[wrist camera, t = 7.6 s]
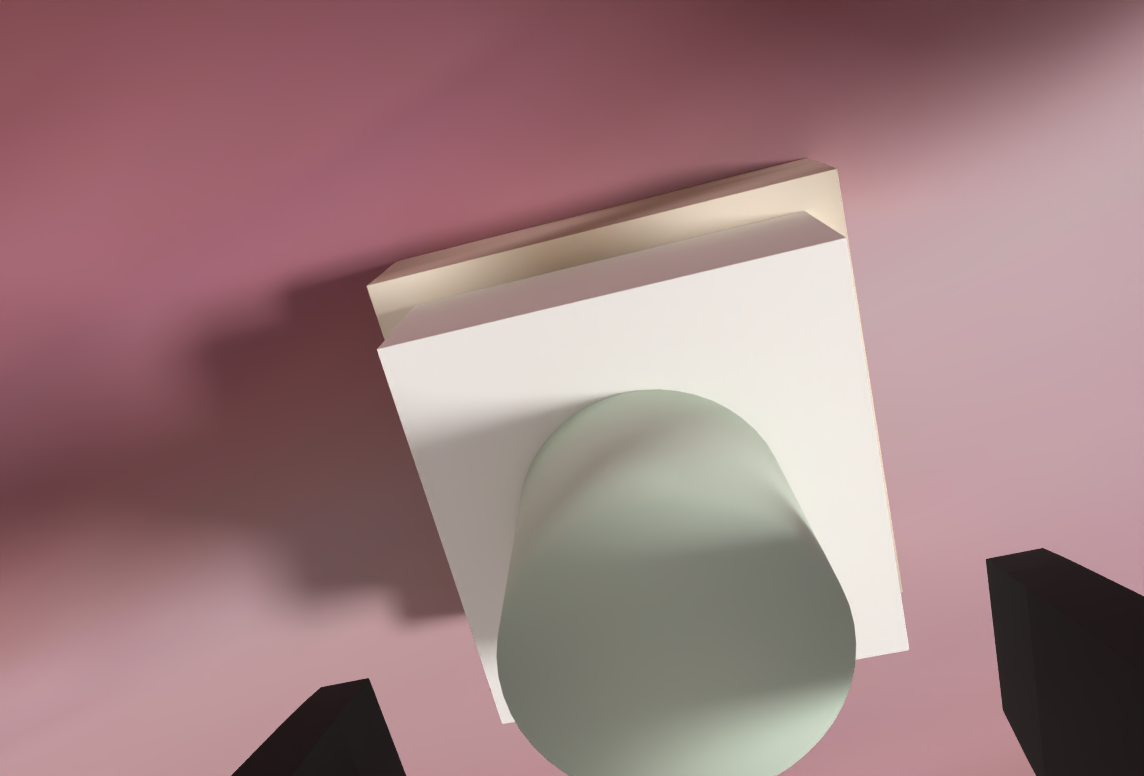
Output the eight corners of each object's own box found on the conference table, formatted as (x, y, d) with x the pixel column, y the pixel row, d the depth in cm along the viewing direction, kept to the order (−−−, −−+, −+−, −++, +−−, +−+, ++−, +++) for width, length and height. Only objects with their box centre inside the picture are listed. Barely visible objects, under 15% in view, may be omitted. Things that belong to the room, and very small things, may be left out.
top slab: (804, 210, 16) (846, 237, 13) (862, 562, 18) (909, 650, 16) (415, 305, 17) (377, 349, 14) (517, 629, 19) (502, 724, 16)
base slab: (801, 155, 19) (837, 168, 16) (863, 525, 21) (902, 592, 19) (401, 256, 20) (366, 285, 17) (509, 597, 22) (494, 670, 20)
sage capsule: (760, 360, 14) (825, 460, 10) (807, 601, 15) (879, 768, 11) (488, 424, 14) (452, 542, 11) (557, 652, 16) (547, 830, 12)
